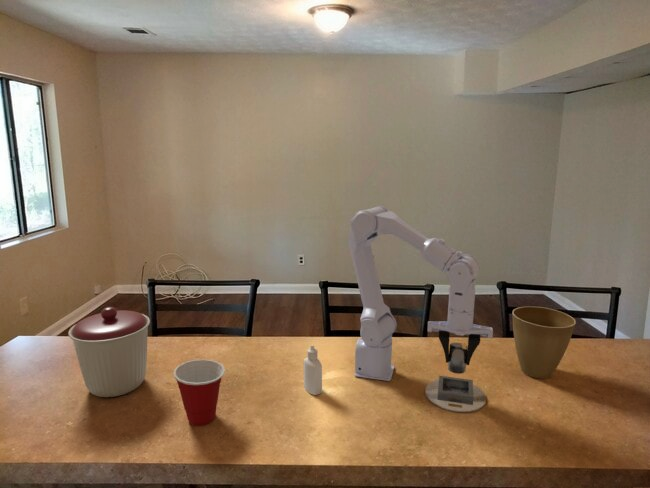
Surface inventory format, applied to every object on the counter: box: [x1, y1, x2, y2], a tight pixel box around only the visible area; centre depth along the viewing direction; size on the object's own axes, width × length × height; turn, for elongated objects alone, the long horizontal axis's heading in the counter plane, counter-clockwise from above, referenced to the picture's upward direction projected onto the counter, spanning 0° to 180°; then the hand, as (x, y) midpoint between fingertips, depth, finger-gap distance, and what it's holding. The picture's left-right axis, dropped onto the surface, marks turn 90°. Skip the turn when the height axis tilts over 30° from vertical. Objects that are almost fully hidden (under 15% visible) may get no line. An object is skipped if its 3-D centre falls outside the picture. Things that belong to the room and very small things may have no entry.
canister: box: [67, 306, 151, 398], centre depth 111 cm, size 18×18×21 cm
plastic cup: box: [173, 359, 226, 427], centre depth 99 cm, size 11×11×12 cm
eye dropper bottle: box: [303, 344, 323, 396], centre depth 111 cm, size 4×6×12 cm
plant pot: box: [511, 306, 577, 380], centre depth 119 cm, size 15×15×16 cm
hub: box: [425, 375, 487, 413], centre depth 109 cm, size 14×14×3 cm
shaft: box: [447, 342, 468, 375], centre depth 107 cm, size 4×4×6 cm
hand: (457, 361), depth 107 cm, fingers closed on shaft, 4 cm apart
